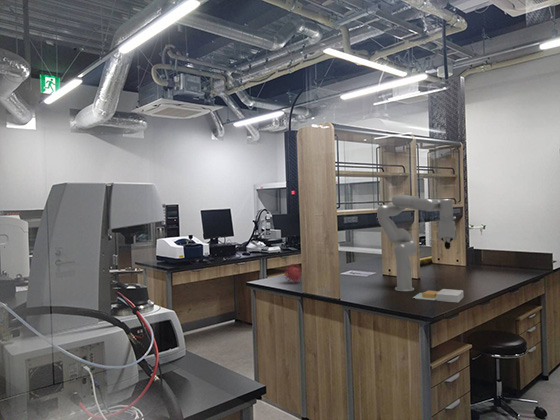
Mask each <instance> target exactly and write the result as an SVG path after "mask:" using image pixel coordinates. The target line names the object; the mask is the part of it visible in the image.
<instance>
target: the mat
mask: <svg viewBox="0 0 560 420" xmlns="http://www.w3.org/2000/svg"><path fill="white" fill-rule="evenodd" d="M422 293H423V292H419V293H417V294H416V295H414V296H413V297H412V299H413V298H415V299H416V300H424V301H425V300H427V301H437V300H436V298H434V299H433V298H425V297H422ZM415 299H414V300H415Z"/></svg>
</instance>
